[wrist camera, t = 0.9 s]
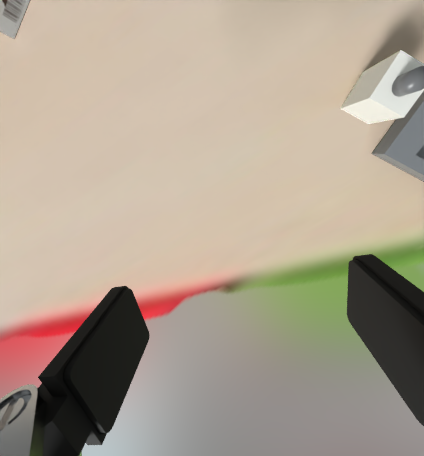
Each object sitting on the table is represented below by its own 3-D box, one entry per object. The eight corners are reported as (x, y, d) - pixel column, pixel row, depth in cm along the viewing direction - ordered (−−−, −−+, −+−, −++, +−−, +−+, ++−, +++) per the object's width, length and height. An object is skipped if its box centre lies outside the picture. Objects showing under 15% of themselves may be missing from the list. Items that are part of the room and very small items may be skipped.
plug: (362, 71, 26) (418, 39, 18) (392, 88, 26) (458, 64, 18) (340, 108, 27) (382, 92, 20) (368, 124, 27) (420, 114, 20)
